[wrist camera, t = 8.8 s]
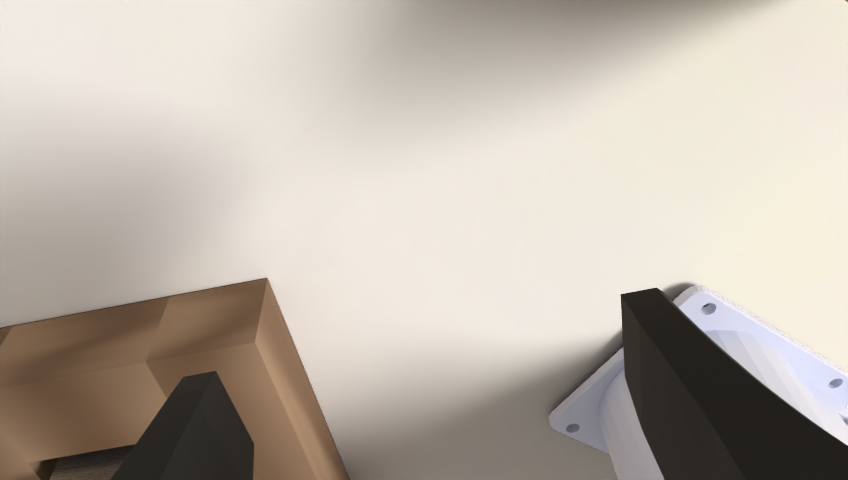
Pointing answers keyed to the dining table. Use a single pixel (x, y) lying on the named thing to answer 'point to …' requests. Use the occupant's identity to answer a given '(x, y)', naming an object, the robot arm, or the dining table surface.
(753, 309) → the dining table surface
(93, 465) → the peg
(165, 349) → the holder
